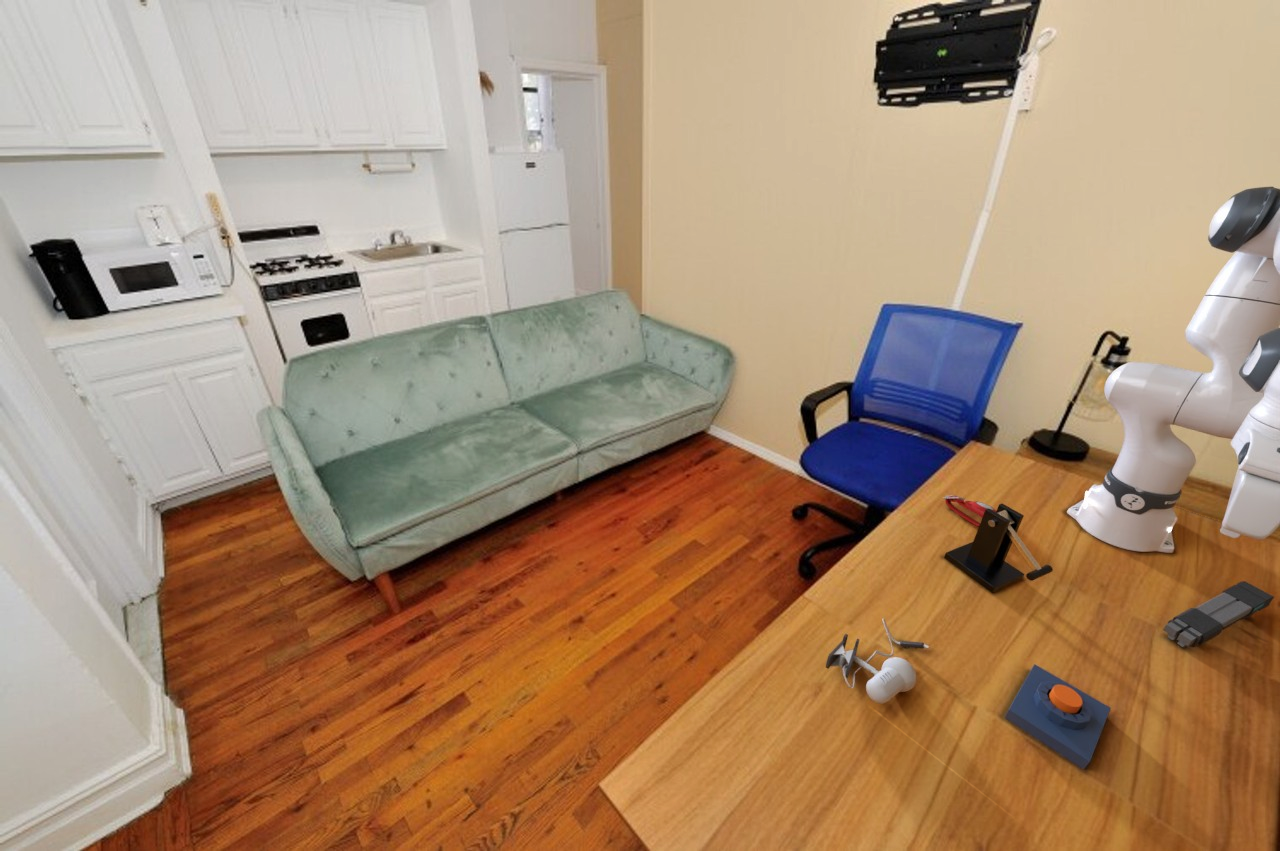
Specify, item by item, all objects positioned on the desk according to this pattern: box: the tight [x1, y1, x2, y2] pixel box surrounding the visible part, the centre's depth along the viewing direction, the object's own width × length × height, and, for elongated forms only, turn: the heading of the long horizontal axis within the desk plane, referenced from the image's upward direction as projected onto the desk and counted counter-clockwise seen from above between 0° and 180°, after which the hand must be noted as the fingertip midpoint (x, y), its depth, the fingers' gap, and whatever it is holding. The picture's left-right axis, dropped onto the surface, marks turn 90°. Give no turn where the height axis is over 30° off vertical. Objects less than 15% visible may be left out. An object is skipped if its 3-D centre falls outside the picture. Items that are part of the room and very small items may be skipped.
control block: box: [1004, 663, 1112, 770], centre depth 77 cm, size 12×10×4 cm
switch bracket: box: [943, 503, 1026, 594], centre depth 103 cm, size 11×9×15 cm
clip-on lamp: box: [825, 617, 930, 705], centre depth 85 cm, size 12×6×18 cm
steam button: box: [1049, 685, 1083, 714], centre depth 76 cm, size 4×4×2 cm
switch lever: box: [998, 510, 1054, 582], centre depth 98 cm, size 13×6×2 cm
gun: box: [1163, 580, 1275, 648], centre depth 91 cm, size 4×20×10 cm, turn 109°
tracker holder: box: [942, 494, 997, 527], centre depth 121 cm, size 12×4×10 cm
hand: (1228, 531), depth 69 cm, fingers closed
